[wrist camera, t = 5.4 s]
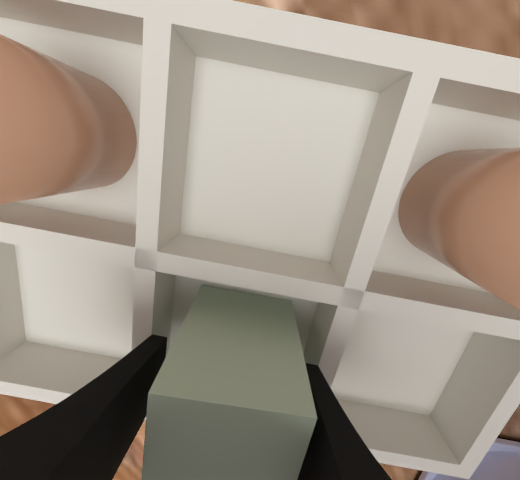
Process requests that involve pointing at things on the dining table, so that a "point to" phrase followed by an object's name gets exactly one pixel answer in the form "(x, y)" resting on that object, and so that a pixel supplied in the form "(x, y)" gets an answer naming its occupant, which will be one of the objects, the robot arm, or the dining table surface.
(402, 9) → the dining table surface
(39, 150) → the tan rounded capsule part
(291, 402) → the pale green block
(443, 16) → the dining table surface
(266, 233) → the white compartment tray
